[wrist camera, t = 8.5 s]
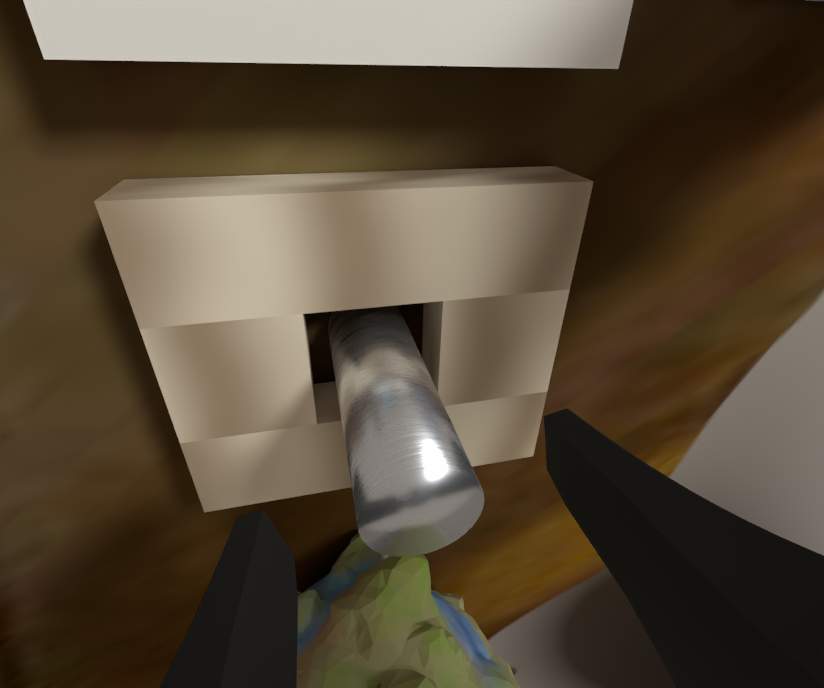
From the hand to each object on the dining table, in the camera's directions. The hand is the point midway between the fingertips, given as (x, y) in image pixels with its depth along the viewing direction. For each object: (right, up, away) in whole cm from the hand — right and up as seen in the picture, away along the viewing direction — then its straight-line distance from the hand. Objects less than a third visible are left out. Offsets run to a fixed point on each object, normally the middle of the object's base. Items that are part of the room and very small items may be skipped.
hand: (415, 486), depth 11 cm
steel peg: (-2, +4, +7) cm, 8 cm away
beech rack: (-2, +4, +7) cm, 8 cm away
